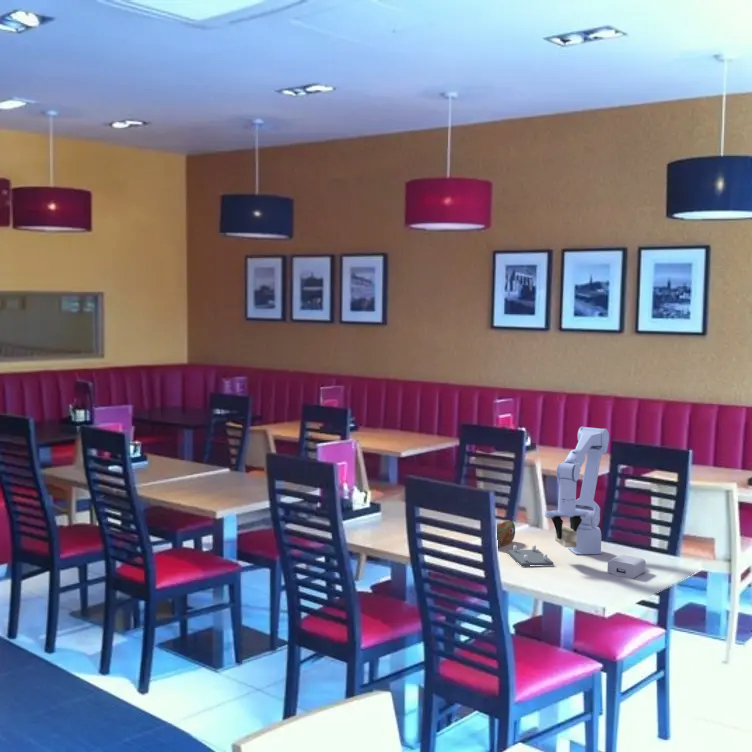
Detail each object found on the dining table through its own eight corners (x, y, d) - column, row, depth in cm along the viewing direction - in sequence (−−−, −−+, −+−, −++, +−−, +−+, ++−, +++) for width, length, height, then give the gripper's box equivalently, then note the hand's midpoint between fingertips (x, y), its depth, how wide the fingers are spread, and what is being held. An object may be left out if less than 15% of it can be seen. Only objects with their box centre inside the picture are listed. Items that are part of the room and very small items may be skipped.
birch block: (566, 540, 316) (567, 525, 316) (576, 547, 308) (576, 532, 307) (555, 540, 316) (555, 526, 315) (564, 547, 307) (565, 532, 306)
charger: (652, 569, 308) (634, 579, 296) (625, 563, 313) (607, 573, 302) (652, 555, 307) (635, 564, 296) (626, 550, 313) (607, 559, 301)
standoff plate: (537, 552, 324) (538, 543, 324) (553, 565, 309) (553, 556, 308) (507, 553, 323) (507, 544, 322) (521, 566, 307) (521, 557, 307)
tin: (495, 549, 328) (495, 526, 327) (487, 548, 330) (487, 524, 329) (515, 541, 340) (516, 518, 339) (508, 539, 342) (508, 517, 341)
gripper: (550, 501, 305) (549, 541, 306) (592, 500, 308) (590, 540, 309) (543, 496, 312) (541, 536, 313) (584, 496, 315) (582, 535, 316)
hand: (565, 538), depth 312 cm, fingers closed on birch block, 4 cm apart
